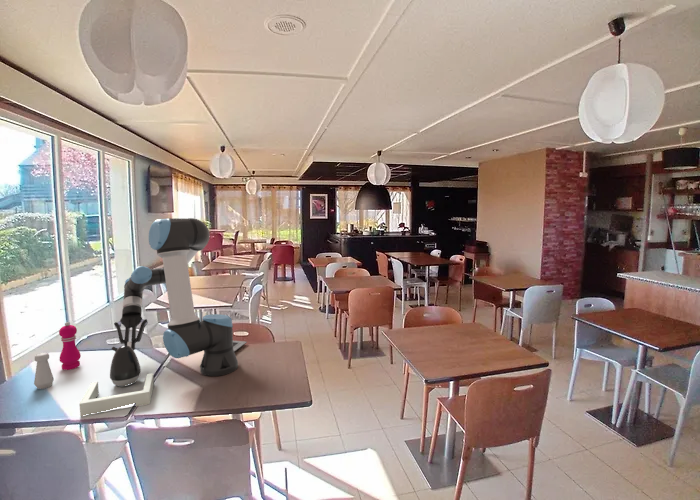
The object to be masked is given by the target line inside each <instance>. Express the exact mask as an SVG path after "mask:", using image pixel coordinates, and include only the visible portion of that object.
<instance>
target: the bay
mask: <svg viewBox="0 0 700 500" xmlns="http://www.w3.org/2000/svg"><path fill="white" fill-rule="evenodd" d="M154 379H155V378H154V373H153V372H152V373H147V374H146V378H145V381H144V386H143V389H142V390H137V391H132V392H131V391H130V392H125V393H119V394H115V395H108V396H103V397H98V396H97V395H99V394H100V392H99V382H98V381H93V382H90V383H89V386H88V388H87V390H86V392H85V393H84V395H83V397H82V398H81V399H80V401H79V415H80V416H83V415H86V414H91V413H97V412H101V411H106V410H110V409H113V408H117V407H121V406H125V405H129V404H133V403H136V407H141V406H146V405H150V404H151V400H152V395H153V389H154V385H155V383H154ZM98 393H99V394H98ZM96 397H97V398H96ZM83 417H84V416H83Z"/></svg>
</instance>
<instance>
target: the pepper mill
mask: <svg viewBox="0 0 700 500" xmlns="http://www.w3.org/2000/svg"><path fill="white" fill-rule="evenodd" d="M77 329H78V328H77V327H76V326H75V325H73V324H71V322H69V321H65V323H64V325H63V326H62V327H61V328H59V330H58V334H59V336H60V337H61V338H60V340H61V342H62V350H61V352H60V355H59V362H60V363H62V364H61V370H63V371H71V370H75V369H77V368H79V367H80V366H81V361H79V360H81V356H82V355H81V352H80V350H79V349H78V347H77V345H76V339H77V338H76V337H77V335H76V334H77V333H78V330H77Z"/></svg>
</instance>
